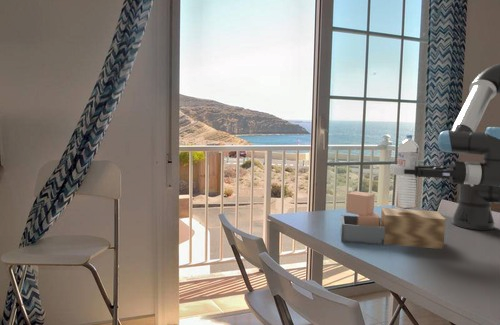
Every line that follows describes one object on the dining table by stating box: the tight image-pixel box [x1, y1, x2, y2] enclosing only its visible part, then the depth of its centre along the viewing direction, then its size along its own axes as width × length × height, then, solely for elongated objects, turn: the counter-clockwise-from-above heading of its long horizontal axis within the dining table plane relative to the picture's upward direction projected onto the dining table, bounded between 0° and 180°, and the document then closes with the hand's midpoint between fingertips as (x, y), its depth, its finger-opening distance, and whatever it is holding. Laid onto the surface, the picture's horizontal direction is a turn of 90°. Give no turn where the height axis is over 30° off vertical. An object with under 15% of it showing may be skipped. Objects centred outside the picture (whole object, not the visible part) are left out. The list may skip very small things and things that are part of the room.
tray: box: [340, 214, 385, 246], centre depth 151 cm, size 14×15×6 cm
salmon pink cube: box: [345, 190, 376, 216], centre depth 154 cm, size 8×7×7 cm
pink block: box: [356, 212, 381, 227], centre depth 151 cm, size 8×7×7 cm
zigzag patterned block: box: [380, 207, 447, 250], centre depth 147 cm, size 19×12×10 cm, turn 79°
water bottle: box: [394, 134, 420, 210], centre depth 146 cm, size 7×7×25 cm
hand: (392, 169), depth 146 cm, fingers closed on water bottle, 7 cm apart
